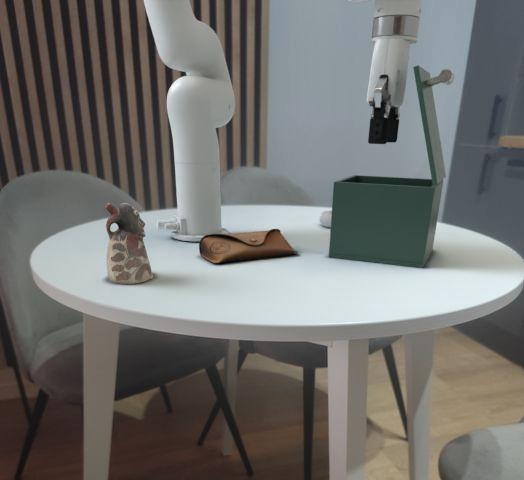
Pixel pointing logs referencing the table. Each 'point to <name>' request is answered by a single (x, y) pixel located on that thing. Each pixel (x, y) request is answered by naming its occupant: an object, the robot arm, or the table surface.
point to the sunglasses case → (244, 246)
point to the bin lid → (431, 118)
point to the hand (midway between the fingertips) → (382, 142)
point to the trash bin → (384, 219)
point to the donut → (326, 218)
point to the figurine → (126, 246)
